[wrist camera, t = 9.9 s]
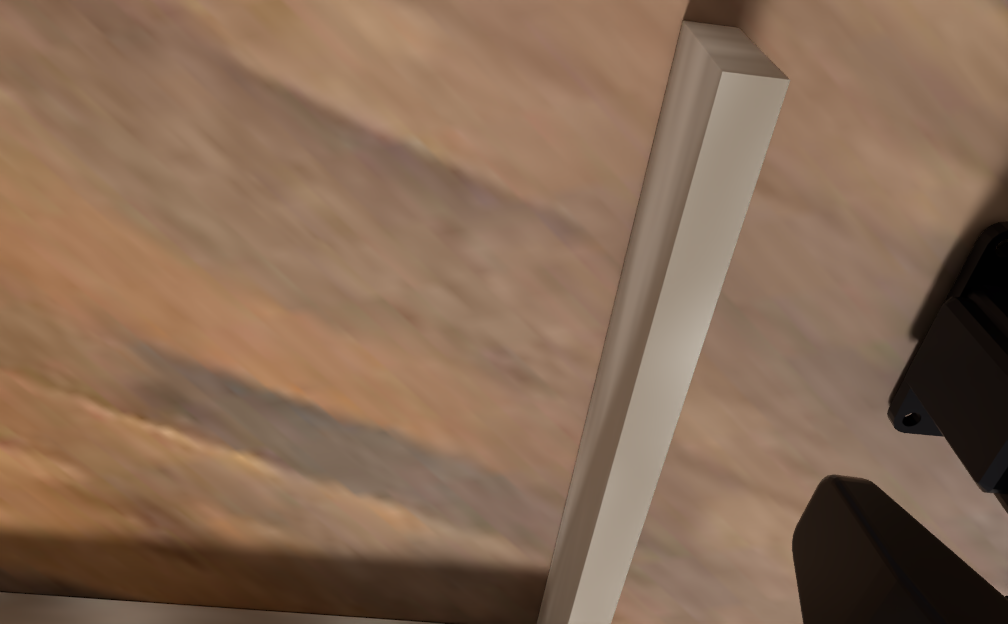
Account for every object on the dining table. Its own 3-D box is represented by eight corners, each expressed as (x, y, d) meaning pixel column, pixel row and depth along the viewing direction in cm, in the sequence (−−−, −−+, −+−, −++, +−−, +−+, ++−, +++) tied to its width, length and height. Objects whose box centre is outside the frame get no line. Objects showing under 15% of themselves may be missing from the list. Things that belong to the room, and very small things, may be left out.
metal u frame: (738, 27, 16) (789, 79, 13) (562, 651, 29) (569, 748, 26) (-575, -142, 15) (-843, -124, 12) (-156, 602, 27) (-234, 700, 24)
